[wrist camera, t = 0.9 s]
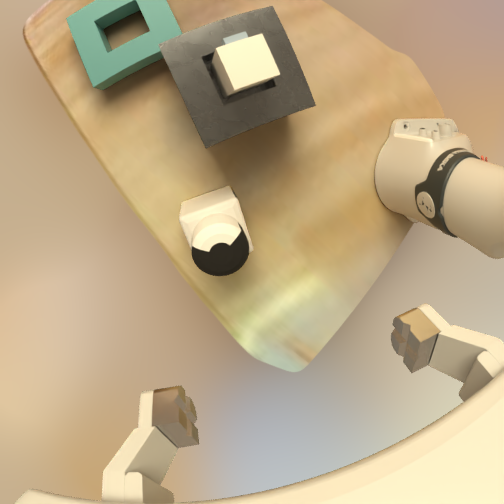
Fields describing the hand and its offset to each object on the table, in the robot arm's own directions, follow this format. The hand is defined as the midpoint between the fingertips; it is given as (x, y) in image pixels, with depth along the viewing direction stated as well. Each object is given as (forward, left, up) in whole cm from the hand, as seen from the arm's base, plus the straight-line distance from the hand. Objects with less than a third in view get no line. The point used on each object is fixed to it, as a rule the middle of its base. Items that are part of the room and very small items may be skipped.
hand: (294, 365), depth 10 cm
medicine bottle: (+3, +4, -32) cm, 33 cm away
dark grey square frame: (-6, -12, -32) cm, 35 cm away
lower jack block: (+3, -25, -32) cm, 40 cm away
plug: (-6, -12, -26) cm, 29 cm away
